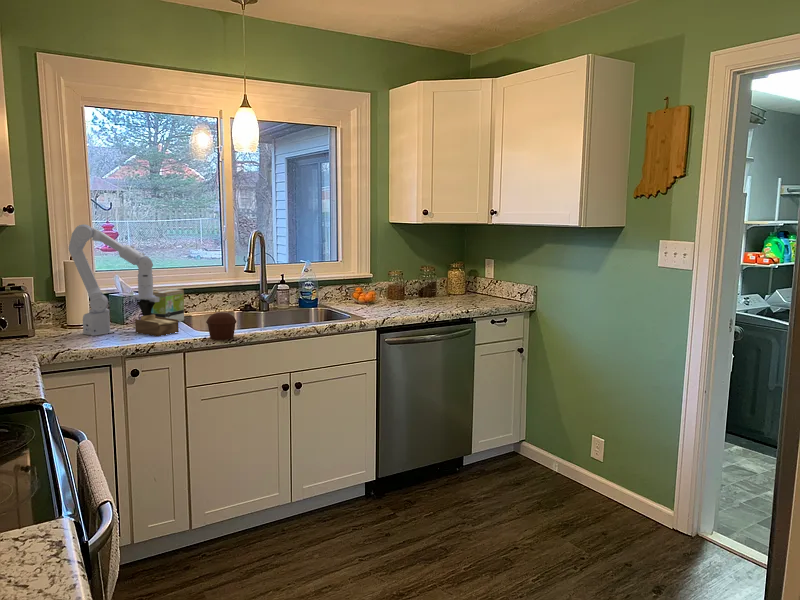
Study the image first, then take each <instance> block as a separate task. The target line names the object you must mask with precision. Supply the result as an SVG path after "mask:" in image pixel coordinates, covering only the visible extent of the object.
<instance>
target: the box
mask: <svg viewBox="0 0 800 600" xmlns="http://www.w3.org/2000/svg"><path fill="white" fill-rule="evenodd" d="M155 318H157V319H163V320H170V321H177V323H173V324H166V325H160V326H159V323H157V322H150V321H144V320H141V319H134V321H135V323H134V324H135V333H136V332H138V333H137V334H140V333H143V334H142V335H146V334H149V335H148V336H152V335H154V336H153V337H162V336H161V335H164V336H167V335H166V334H170V333H175V332H180V331H179V330H180V329H179V322H178V320H176V319H170V318H163V317H155ZM175 334H176V333H175ZM170 335H171V334H170Z"/></svg>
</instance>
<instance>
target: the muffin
mask: <svg viewBox="0 0 800 600" xmlns="http://www.w3.org/2000/svg"><path fill="white" fill-rule="evenodd" d="M205 323H206V324H207V329H208V334H209V338H210V339H211V340H214V341H215V340H216V341H224V340H231V339H233V338H234V336H235V329H236V323H237V319H236V318H235V316H234V315H233V314H230V313H229V312H224V311H223V312H215V313H213V314H211V315H210V316H208V318H207V320H206V322H205Z"/></svg>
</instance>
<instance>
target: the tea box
mask: <svg viewBox="0 0 800 600" xmlns="http://www.w3.org/2000/svg"><path fill="white" fill-rule="evenodd" d="M184 290H185V289H179V288H178V289H176V288H175V289H174V288H164V289H163V288H162V289H156V290H153V295H155V296H156V297H159V302H155V304H154V306H153V308H152V311H151V315H155V317H163V318H170V319H176V320H178V321H179V322H184V320H185V310H184V309H185V291H184Z"/></svg>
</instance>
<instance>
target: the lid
mask: <svg viewBox="0 0 800 600" xmlns="http://www.w3.org/2000/svg"><path fill="white" fill-rule="evenodd" d="M140 320H144V321H150V322H157V323H159V326H160V325H166V324H173V323H177V321H170V320H163V319H157V318H155V315H146V316H143V315H141V316H140Z"/></svg>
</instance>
